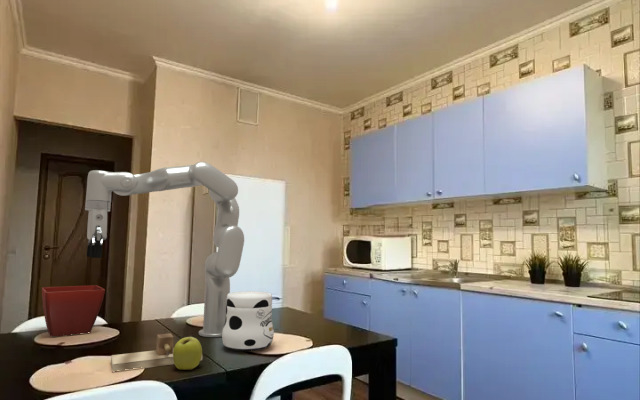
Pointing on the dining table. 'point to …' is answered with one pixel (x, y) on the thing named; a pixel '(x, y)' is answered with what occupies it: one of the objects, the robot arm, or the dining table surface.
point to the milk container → (248, 321)
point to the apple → (187, 353)
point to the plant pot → (71, 308)
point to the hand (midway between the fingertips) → (93, 257)
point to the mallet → (164, 344)
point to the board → (140, 360)
